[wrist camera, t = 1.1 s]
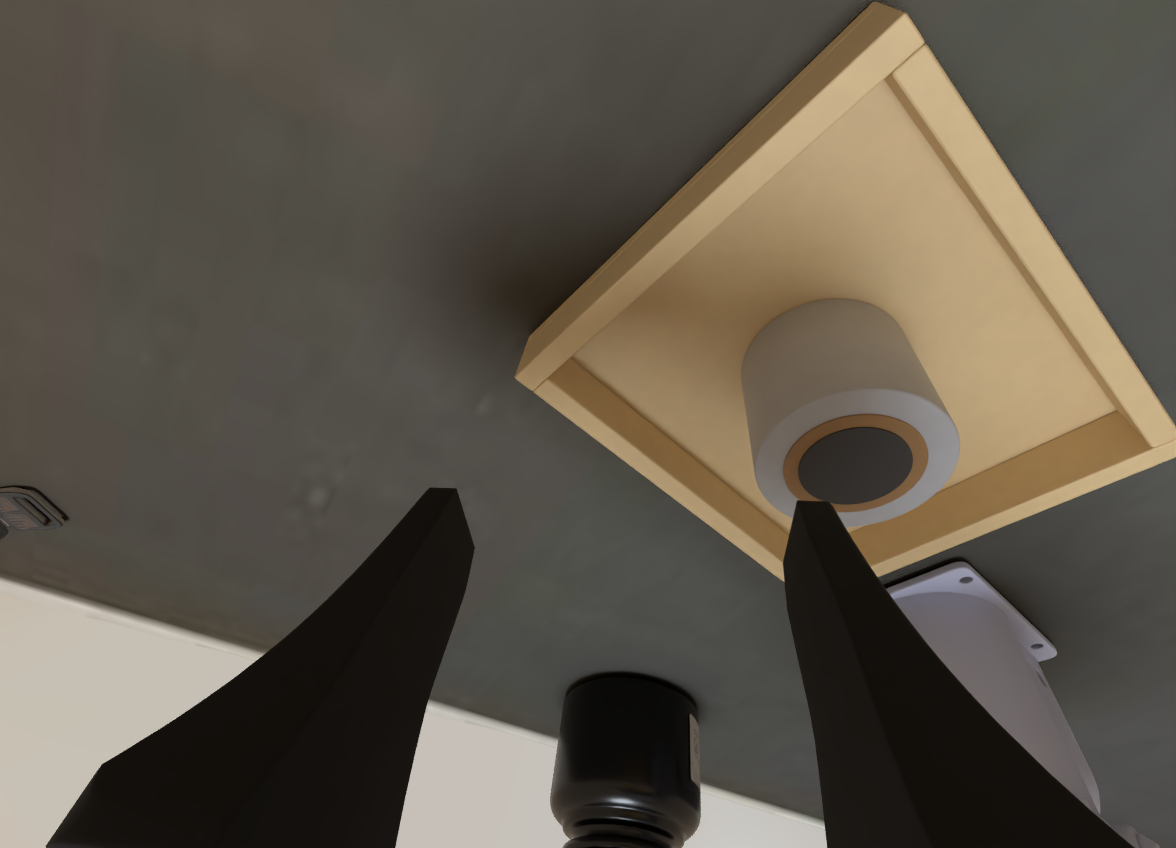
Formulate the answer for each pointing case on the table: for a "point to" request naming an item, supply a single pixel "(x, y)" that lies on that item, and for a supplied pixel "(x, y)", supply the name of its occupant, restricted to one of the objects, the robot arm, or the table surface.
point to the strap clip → (25, 512)
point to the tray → (864, 273)
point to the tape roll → (844, 414)
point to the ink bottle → (627, 766)
